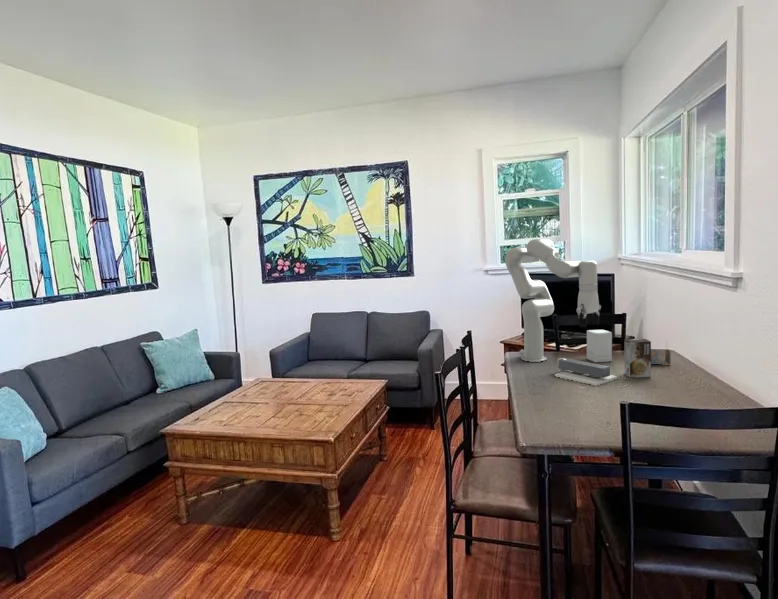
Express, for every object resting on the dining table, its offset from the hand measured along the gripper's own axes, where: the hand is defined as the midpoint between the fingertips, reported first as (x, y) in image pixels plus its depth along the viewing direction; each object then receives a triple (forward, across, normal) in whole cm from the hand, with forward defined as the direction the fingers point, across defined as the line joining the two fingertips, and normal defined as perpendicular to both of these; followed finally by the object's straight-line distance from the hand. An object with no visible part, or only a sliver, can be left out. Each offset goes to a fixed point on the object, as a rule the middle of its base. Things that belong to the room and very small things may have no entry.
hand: (589, 325), depth 215 cm
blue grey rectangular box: (+23, -36, +12) cm, 44 cm away
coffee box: (+23, -11, +15) cm, 30 cm away
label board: (+22, +8, +1) cm, 24 cm away
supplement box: (+22, -25, -12) cm, 35 cm away
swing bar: (+20, +8, 0) cm, 21 cm away
